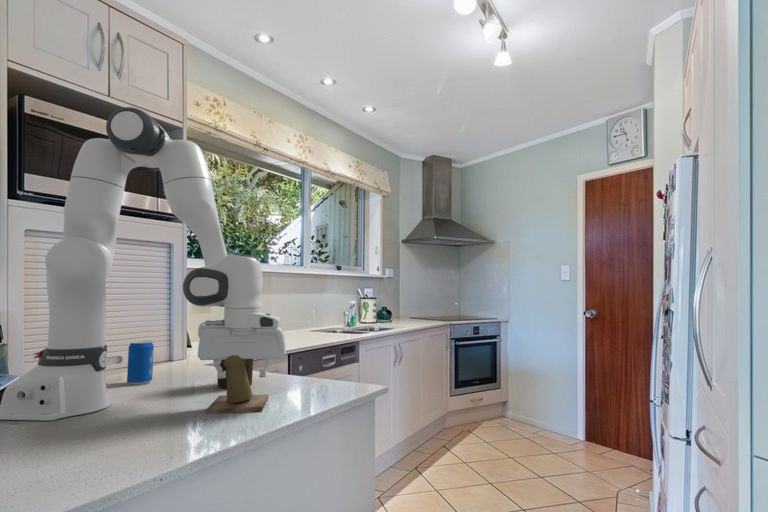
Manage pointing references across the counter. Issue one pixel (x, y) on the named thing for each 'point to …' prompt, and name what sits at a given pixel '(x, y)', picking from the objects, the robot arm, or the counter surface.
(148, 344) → the beverage can
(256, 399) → the walnut trivet
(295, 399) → the counter surface
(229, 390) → the cork
